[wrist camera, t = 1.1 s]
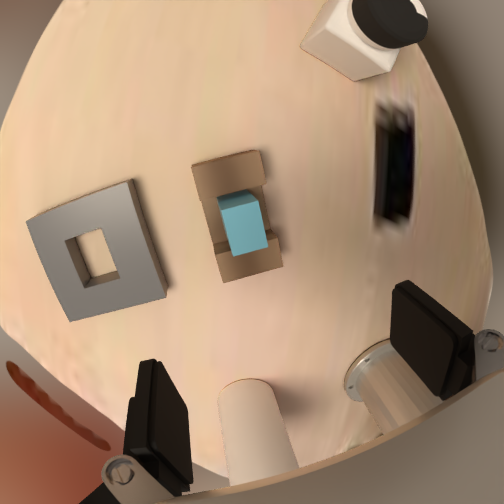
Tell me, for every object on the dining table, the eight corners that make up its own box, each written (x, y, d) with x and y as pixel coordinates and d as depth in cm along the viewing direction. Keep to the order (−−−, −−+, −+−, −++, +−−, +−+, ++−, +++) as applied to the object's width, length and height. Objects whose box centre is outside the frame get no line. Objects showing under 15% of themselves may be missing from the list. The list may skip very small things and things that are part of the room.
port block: (132, 178, 28) (126, 182, 25) (167, 286, 32) (166, 297, 30) (36, 215, 27) (25, 221, 24) (76, 310, 31) (69, 322, 29)
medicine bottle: (354, 83, 28) (426, 65, 17) (297, 48, 26) (351, 6, 15) (375, 38, 26) (444, 11, 15) (323, 3, 24) (379, -43, 13)
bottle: (275, 375, 39) (354, 580, 12) (271, 411, 42) (331, 587, 14) (215, 380, 38) (258, 604, 10) (218, 417, 41) (254, 604, 13)
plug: (246, 189, 30) (258, 200, 24) (254, 227, 31) (268, 247, 25) (216, 196, 29) (221, 210, 24) (226, 234, 31) (233, 256, 25)
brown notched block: (252, 149, 29) (259, 150, 25) (274, 253, 33) (283, 266, 30) (191, 164, 28) (191, 167, 25) (220, 268, 32) (223, 283, 29)
